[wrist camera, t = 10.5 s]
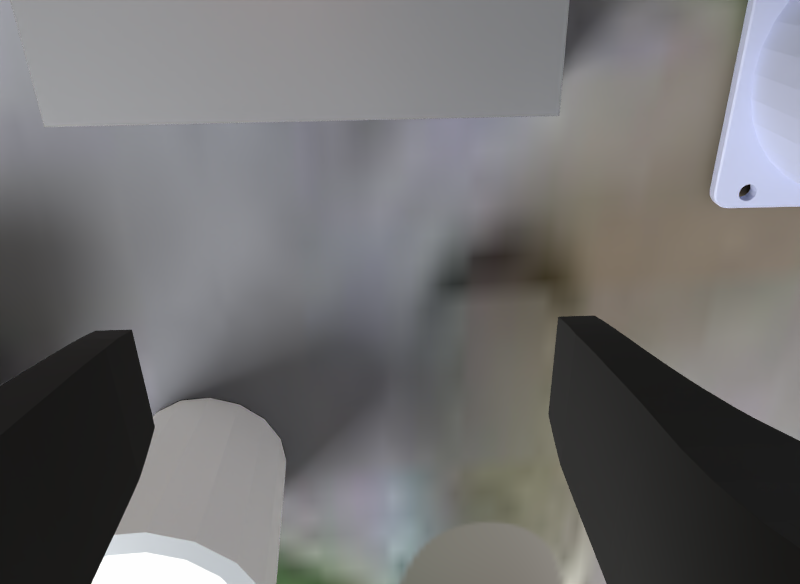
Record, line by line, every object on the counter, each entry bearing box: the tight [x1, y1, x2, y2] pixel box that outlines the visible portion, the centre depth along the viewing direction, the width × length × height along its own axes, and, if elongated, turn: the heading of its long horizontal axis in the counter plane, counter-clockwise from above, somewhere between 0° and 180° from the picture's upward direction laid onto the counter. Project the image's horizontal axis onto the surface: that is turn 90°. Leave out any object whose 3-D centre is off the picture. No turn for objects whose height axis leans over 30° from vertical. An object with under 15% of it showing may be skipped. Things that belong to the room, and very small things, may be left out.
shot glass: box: [91, 398, 286, 584], centre depth 23 cm, size 7×7×7 cm
